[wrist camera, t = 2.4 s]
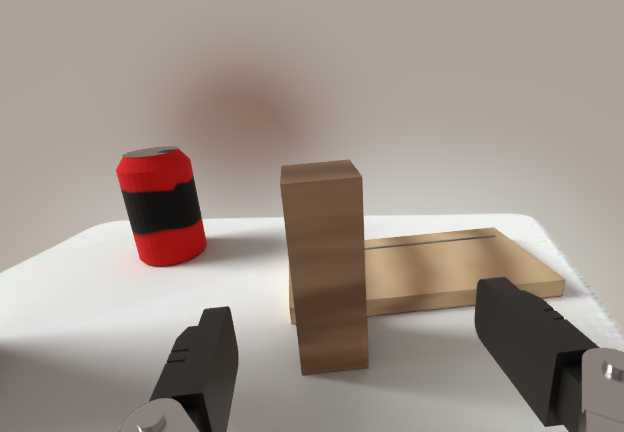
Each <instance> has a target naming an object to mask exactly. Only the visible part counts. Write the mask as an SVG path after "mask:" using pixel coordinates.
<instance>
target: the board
mask: <svg viewBox="0 0 624 432" xmlns="http://www.w3.org/2000/svg"><path fill="white" fill-rule="evenodd" d="M364 247H365V277H366V307H367V316H373V315H383V314H393V313H402V312H412V311H421V310H431V309H440V308H450V307H460V306H469V305H476V291H477V283H478V281H479V280H480V279H486V278H495V277H506V278H507V279H509V280H510V281H511V282H512V283H513V284H514V285H515V286H516V287H518V288H519V289H520V290H525V291H527V292H529V293H532V294H534V295H536V296H538V297H540V298H546V297H555V296H562V295H563V290H564V284H565V279H564V278H562V277H561V276H560V275H558V274H557V273H556V272H554V271H553V270H552V269H550V268H549V267H547V266H546V265H545V264H543V263H542V262H541V261H539V260H538V259H536V258H535V257H534V256H532V255H531V254H530V253H528V252H527V251H525V250H524V249H523V248H521V247H520V246H519V245H517V244H516V243H515V242H513V241H512V240H510V239H509V238H508V237H506V236H505V235H504V234H502V233H501V232H499V231H498V230H497V229H495V228H484V229H474V230H464V231H453V232H443V233H433V234H423V235H413V236H403V237H393V238H382V239H372V240H364ZM289 308H290V317H291V324H296V318H295V309H294V300H293V291H292V283H291V274H290V265H289Z"/></svg>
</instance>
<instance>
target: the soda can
mask: <svg viewBox="0 0 624 432" xmlns="http://www.w3.org/2000/svg"><path fill="white" fill-rule="evenodd" d="M116 172H117V176H118V179H119V183H120V187H121V191H122V194H123V198H124V202H125V205H126V209H127V213H128V216H129V220H130V224H131V228H132V231H133V235H134V239H135V242H136V246H137V250H138V253H139V257H140V259H141V261H143V262H144V263H146V264H148V265H152V266H169V265H174V264H179V263H182V262H185V261H188V260H190V259H192V258H194V257H196V256H198V255H199V254H200V253H201V252H202V251H203V250H204V248H205V246H206V237H205V232H204V227H203V222H202V217H201V212H200V207H199V202H198V197H197V192H196V187H195V182H194V176H193V171H192V166H191V161H190V159H189V158H188V157H187V156H186V155H185V154H184V153H183V152H181V151H180V150H179V148H178V147H156V148H148V149H142V150H137V151H133V152H129V153H126V154H124V155H123V158H122V159H121V162H120V163H119V165H118V167H117V169H116Z"/></svg>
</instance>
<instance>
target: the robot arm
mask: <svg viewBox="0 0 624 432" xmlns="http://www.w3.org/2000/svg"><path fill="white" fill-rule="evenodd" d="M475 328H476V332H477V335H478V337H479V339H480V340H481V342H482V343H483V344H484V346H485V347H486V348H487V350H488V351H489V352H490V354H491V355H492V356H493V358H494V359H495V360H496V362H497V363H498V365H499V366H500V367H501V369H502V370H503V371H504V373H505V374H506V375H507V377H508V378H509V379H510V381H511V382H512V383H513V385H514V386H515V387H516V389H517V390H518V391H519V393H520V394H521V395H522V397H523V398H524V399H525V401H526V402H527V403H528V405H529V406H530V407H531V409H532V410H533V411H534V413H535V414H536V415H537V417H538V418H539V419H540V421H541V422H542V423H543V425H544V426H545V427H548V426H557V425H564V426H565V427H566V428H567V430H568V432H624V352H622V351H618V350H614V349H608V348H599V347H598V346H597V345H596V344H595V343H593V342H592V341H591V340H590V339H589V338H588V337H586V336H585V335H584V334H583V333H582V332H580V331H579V330H578V329H577V328H576V327H575V326H573V325H572V324H571V323H570V322H569V321H568V320H566V319H565V320H564V317H563V316H562V315H560V314H559V313H558V312H557V311H554V309H553V308H552V307H551V306H550V305H549V304H548V303H546V302H545V301H544V300H543V299H542V298H540V297H538V296H536V295H534V294H532V293H529V292H527V291H525V290H520V289H519V288H518V287H516V286H515V285H514V284H513V283H512V282H511V281H510V280H509V279H507V278H506V277H495V278H486V279H480V280H479V281H478V283H477V291H476V306H475ZM237 369H238V347H237V341H236V336H235V331H234V326H233V320H232V315H231V311H230V308H229V307H228V306H227V307H218V308H209V309H204V311H203V314H202V316H201V319H200V322H199V324H198V326H192V327H188V328H187V329H186V330H185V331H184V332H183V333H182V334H181V335H180V336H179V337H178V338H177V339H176V341H175V344H174V346H173V348H172V350H171V353H170V355H169V357H168V360H167V364H165V366H164V369H163V371H162V373H161V375H160V378H159V380H158V382H157V385H156V387H155V389H154V391H153V394H152V396H151V398H150V400H149V402H148V403H146V404H144V405H142V406H140V407H139V408H137V409H136V410H135V411H133V412H132V413H131V414H130V415H129V416H128V417H127V418H126V420H125V421H124V422H123V424H122V426H121V428H120V431H119V432H226V431H227V425H228V419H229V414H230V408H231V403H232V397H233V392H234V386H235V380H236V375H237Z"/></svg>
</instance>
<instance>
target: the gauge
mask: <svg viewBox="0 0 624 432" xmlns="http://www.w3.org/2000/svg"><path fill="white" fill-rule="evenodd" d="M281 168H282V169H281V182H280V186H281V194H282V203H283V211H284V221H285V230H286V239H287V247H288V256H289V265H290V274H291V283H292V291H293V300H294V309H295V318H296V327H297V335H298V344H299V353H300V362H301V370H302V375H309V374H318V373H327V372H336V371H346V370H355V369H364V368H369V366H368V336H367V307H366V277H365V247H364V217H363V189H362V176H361V175H360V173H359V172H358V170H357V169H356V168H355V166H354V165H353V164H352V162H351V161H350V160H340V161H330V162H319V163H308V164H297V165H286V166H282V167H281Z"/></svg>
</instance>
